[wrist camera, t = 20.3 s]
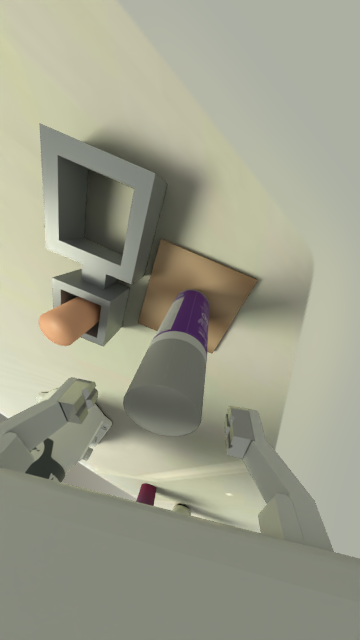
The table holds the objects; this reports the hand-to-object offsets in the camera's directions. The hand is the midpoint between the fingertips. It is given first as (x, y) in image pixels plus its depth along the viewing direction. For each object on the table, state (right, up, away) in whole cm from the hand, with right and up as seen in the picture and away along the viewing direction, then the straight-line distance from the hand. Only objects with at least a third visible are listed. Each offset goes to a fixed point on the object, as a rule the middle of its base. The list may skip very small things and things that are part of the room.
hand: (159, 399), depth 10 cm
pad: (+3, +7, +13) cm, 15 cm away
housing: (-8, +13, +12) cm, 19 cm away
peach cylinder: (-10, +7, +14) cm, 19 cm away
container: (+3, +7, +12) cm, 14 cm away
